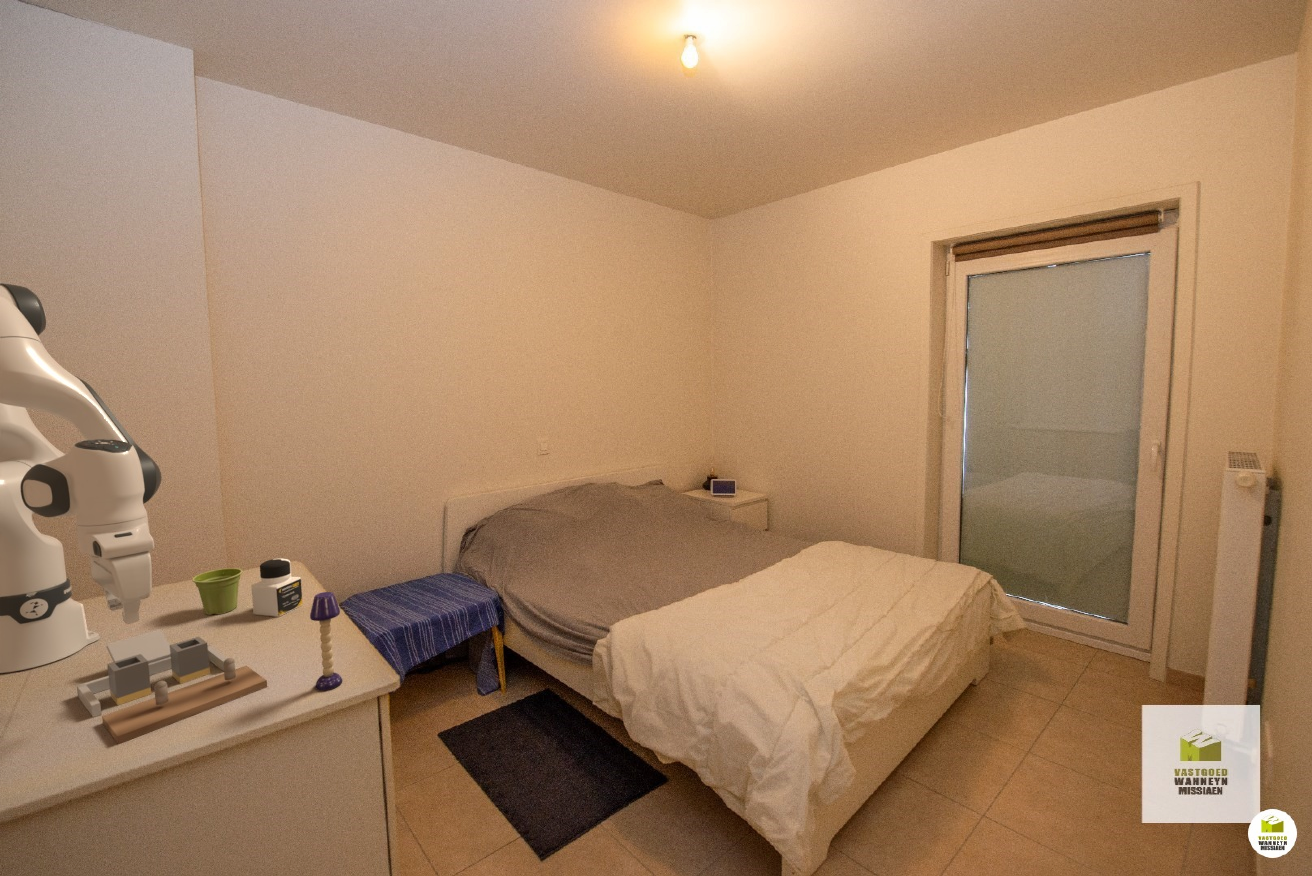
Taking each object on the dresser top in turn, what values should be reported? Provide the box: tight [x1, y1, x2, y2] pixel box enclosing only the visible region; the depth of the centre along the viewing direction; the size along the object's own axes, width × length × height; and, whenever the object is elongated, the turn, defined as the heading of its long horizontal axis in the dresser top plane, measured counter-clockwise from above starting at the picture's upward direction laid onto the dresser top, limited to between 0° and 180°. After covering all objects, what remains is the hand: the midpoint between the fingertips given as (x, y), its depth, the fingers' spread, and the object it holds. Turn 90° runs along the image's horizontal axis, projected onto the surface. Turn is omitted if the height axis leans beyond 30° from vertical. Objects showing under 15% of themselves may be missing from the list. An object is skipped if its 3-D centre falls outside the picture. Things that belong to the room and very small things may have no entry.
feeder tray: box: [76, 628, 228, 718], centre depth 107 cm, size 18×19×5 cm
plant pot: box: [192, 567, 243, 615], centre depth 137 cm, size 9×9×9 cm
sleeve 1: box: [106, 654, 152, 706], centre depth 101 cm, size 4×4×6 cm
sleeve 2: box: [170, 636, 211, 684], centre depth 108 cm, size 4×4×6 cm
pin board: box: [101, 657, 268, 745], centre depth 98 cm, size 9×20×6 cm, turn 144°
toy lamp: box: [309, 591, 343, 691], centre depth 104 cm, size 5×5×17 cm
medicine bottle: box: [251, 558, 303, 618], centre depth 137 cm, size 7×7×12 cm
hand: (123, 615), depth 100 cm, fingers open, 8 cm apart
